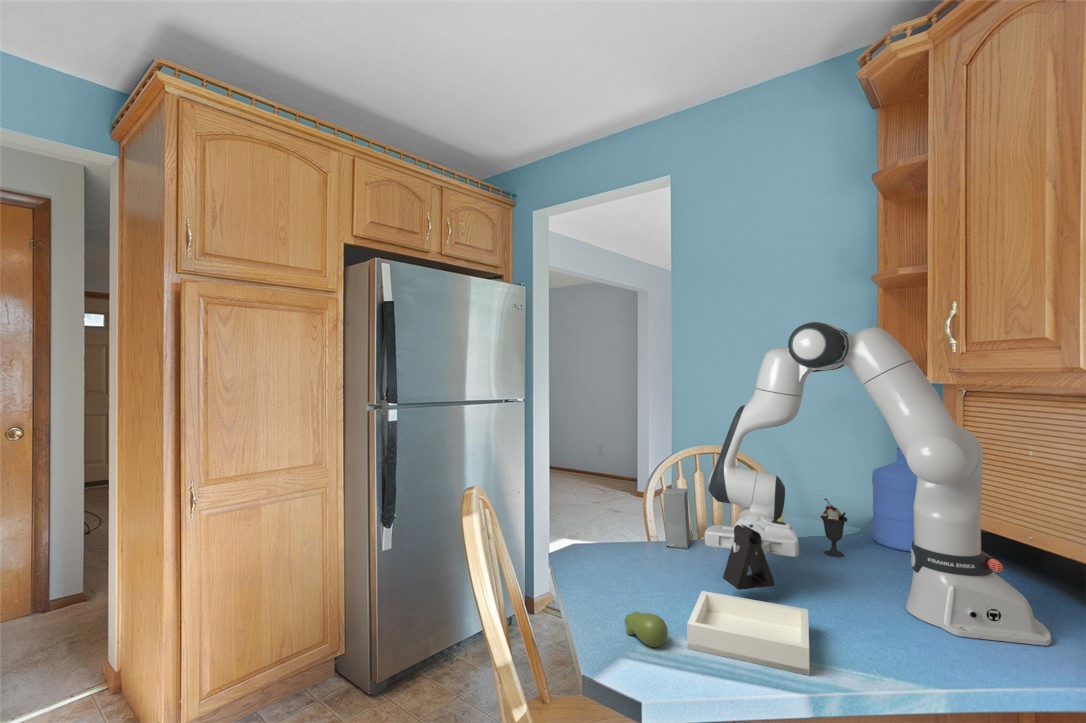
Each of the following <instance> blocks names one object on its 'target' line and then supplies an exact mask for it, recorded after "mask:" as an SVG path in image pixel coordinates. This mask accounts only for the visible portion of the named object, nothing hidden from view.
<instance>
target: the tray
mask: <svg viewBox="0 0 1086 723" xmlns="http://www.w3.org/2000/svg"><path fill="white" fill-rule="evenodd" d="M809 628H810V626H809V609H807V608H804V607H803V608H802V607H798V606H797V607H796V606H790V605H784V604H780V603H779V604H778V603H775V602H774V603H773V602H767V601H761V600H756V599H751V598H745V597H738V596H734V595H728V594H723V593H716V592H711V591H705V590H701V591H700V594H699V596H698V598H697V601H696V603H695V605H694V608H693V610H692V611H691V614H690V617H689V619H688V620H687V623H686V633H687V634H686V636H687V638H686V641H687V645H686V646H687V647H686V648H687V650H688V649H689V650H692V651H697V652H702V653H707V654H711V655H715V656H720V657H724V658H727V659H732V658H734V660H737V659H738V661H741V660H742V661H741V662H745V661H746V662H745V663H750V664H754V665H760V666H765V667H767V668H768V667H769V668H773V669H777V670H781V671H787V672H791V673H795V674H799V675H804V676H808V677H810V672H811V671H810V634H809V633H810V632H809V631H810V630H809Z"/></svg>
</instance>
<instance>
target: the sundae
mask: <svg viewBox="0 0 1086 723" xmlns="http://www.w3.org/2000/svg"><path fill="white" fill-rule="evenodd" d="M823 501H826V502H827V506H825V510H824V511H823V512H822V514H821V515H820V518H821V519H822V521H823V528H824V532H825V537H826V538H828V540H829V541H830V542H831V547H830V549H827V550H824V552H823V553H824V554H825V555H826V556H829V557H834V558H841V557H844V556H845V554H844V553H843V552H841V551H839V550H838V548H837V542H839V541H840V540H841V539H842V538H843V534H844V527H845V523H847V522H848V517H846V516H845V515H846V512H845V511H844V512H843V513H841V510H840V509H838V508H836V507H835V506H834V505H832V504H831V502H830V501H829V500H828V499H827V498H824V500H823Z"/></svg>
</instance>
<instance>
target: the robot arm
mask: <svg viewBox="0 0 1086 723" xmlns="http://www.w3.org/2000/svg"><path fill="white" fill-rule="evenodd" d="M787 342H788V343H787V347H776V348H772V349H769V350H768V351H767V352H766V353H765V354H764V356H763V358H762V362H761V364H760V367H759V369H758V372H757V378H756V381H755V388H754V392H753V394H752V396H751V397H750V400H749V401H748V402H747V403H746V404H743V405H741V406H739V407H738V409H737V410H736V412H735V414H734V417H733V419H732V421H731V424H730V426H729V429H728V431H727V434H726V437H725V439H724V442H723V445H722V448H721V451H720V453H719V456H718V458H717V462H716V464H715V465H714V467H713V469H712V470H711V472H710V475H709V478H708V482H707V483H708V484H707V487H708V491H709V493H710V494H711V496H712V497H713V499H714V500H715V501H716V502H719V503H725V504H730V505H731V504H732V505H737V506H740V507H743V509H741V511H740V513H739V515H738V516H737V519H736V522H735V524H734V526H733V525H732V526H730V525H721V524H720V525H719V524H712V525H711V526H709V527H707V528H706V529H705V531H704V544H705V546H707V547H709V548H716V549H725V550H731V548H732V545H733V552H734V553H737V552H738V550H739V548H740V545H738V544H736V543H735V542H734V528H735V526H736V525H740V526H741V524H742V525H744V526H746V527H748V528H750V529H752V530H754V531H756V532H758V533H759V534H760V535H761V547H762V549H763V552H764V555H772V556H773V555H774V556H780V557H781V556H782V557H783V556H784V557H789V558H797V557H799V555H800V547H799V546H800V545H799V544H800V543H799V537H798V535H797V533H796V532H795V530H793V528H792V527H793V526H792V524H791V523H787V522H784V521H779V520H780V519H781V517H782V515H783V512H784V507H785V501H786V500H785V498H786V488H785V486H786V485H784V483H783V481H782V479H781V478H780V477H779V476H778V475H775V474H771V473H767V472H763V471H759V470H758V471H757V470H753V469H747V468H744V467H741V466H740V467H739V466H737V465H736V463H735V460H736V458H737V455H738V452H739V451H740V447H741V444H742V442H743V439H744V437H745V436H746V435H747V434H749V433H750V432H753V431H754V432H755V431H757V430H762V429H763V430H764V429H769V428H770V429H771V428H775V427H776V428H777V427H780V426H783V425H786V424H788V423H790V422H791V421H793V420H794V419H795V418H796V417H797V415H798V414H799V411H800V407H801V403H802V400H803V394H804V386H805V382H806V380H807V378H808V376H809V374H811V373H816V372H817V373H819V372H826V371H827V372H828V371H835V370H838V369H841V368H843V367H847V368H849V369H850V370H851V371H852V372H853V373H854V375H855V376H856V377H857V378H858V380H859V382H860V383H861V385H862V387H863V388H864V389H865V390H866V393H868V395H869V397H870V398H871V400H872V401H873V402H874V404H875V405H876V407H877V408H878V410H879V411H880V412H881V414H882V416H883V418H884V419H885V421H886V423H887V425H888V428H889V429H890V431H891V433H892V435H893V437H894V439H895V442H896V444H897V445H898V448H900V449H901V451H902V453H903V455H904V456H905V458H906V460H907V463H908V466H909V468H910V469H911V471H912V472H913V473H914V474H915V475H916V476H917V485H916V494H915V500H914V541H913V542H912V548H911V552H910V561H911V562H910V563H911V564H910V565H911V567H912V569H913V571H912V578H911V579H912V580H911V585H910V590H909V591H910V592H909V594H908V599H907V601H906V604H905V608H906V611H907V612H908V613H910V614H911V616H914V617H915V618H918V619H919V620H920V621H922V622H926V623H928V624H931V625H933V626H936V627H938V628H941V629H943V630H944V631H946V632H947V633H948V632H949V633H950V634H952V635H954V636H957V637H962V638H963V637H964V638H969V639H970V638H971V639H979V638H980V640H981V639H982V640H991V641H998V642H1000V641H1001V642H1008V643H1017V644H1018V643H1019V644H1027V645H1036V646H1037V645H1038V646H1043V647H1044V646H1050V645H1051V644H1052V642H1053V640H1052V635H1051V633H1050V631H1049V629H1048V628H1047V627H1046V626H1045V625H1044V624H1043V623H1042V622H1041V621H1039V620H1038V619H1036V618H1035V616H1034V612H1033V608H1032V607H1031V606H1032V605H1031V604H1030V602H1029V601H1028V599H1027V598H1026V597H1025V596H1024V595H1023V594H1022V593H1021V592H1020V591H1018V590H1017V589H1016V588H1015V587H1014V586H1012V585H1011V584H1010V583H1009V582H1007V581H1006V580H1005V579H1003V578H1002V577H1000V576H999V575H998V574H996V573H1001V572H1002V571H1003V570H1004V566H1003V564H1002V563H1001V562H1000V561H999V560H998V559H995V558H994V557H993V556H991V555H989V554H987V553H986V552H984V551H982V528H981V527H982V526H981V522H982V520H981V519H982V518H981V515H982V514H981V512H982V511H981V510H982V509H981V508H982V495H983V494H982V492H983V471H984V470H983V466H984V459H983V457H984V456H983V455H984V451H983V447H982V443H981V442H980V440H979V438H977V436H975V434H974V433H973V432H971V431H969V429H966V428H963V427H961V426H958V425H957V424H956V422H955V421H954V419H953V417H952V416H951V414H950V413H949V410H948V409H947V408H946V406H945V404H944V403H943V401H942V399H941V396H940V395H939V393H938V391H937V390H936V388H935V387H934V386H933V384H932V382H930V380H929V378H927V376H926V375H925V374H924V372H923V371H922V369H921V368H920V367H919V366H918V364H917V362H916V361H915V360H914V359H913V357H912V356H911V354H910V353H908V351H907V350H906V349H905V347H904V346H902V344H900V342H899V341H897V339H896V338H895V337H894V336H893V335H891V334H890V333H889V332H888V331H886V330H885V329H884V328H882V327H877V326H876V327H875V326H874V327H873V326H872V327H866V328H863V329H861V330H858V331H857V332H855V333H848V332H847V331H846V330H844V329H842V328H839V327H838V326H835V325H833V324H830V323H825V322H819V321H810V322H807V323H803V324H801V325H799V326H798V327H796V328H795V329H794V330H792V332H791V334H790V336H789V339H788V340H787ZM742 527H743V526H742ZM756 555H757V552H756Z"/></svg>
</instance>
